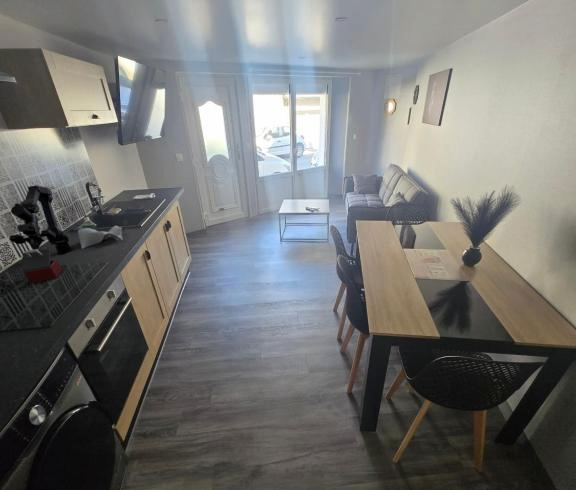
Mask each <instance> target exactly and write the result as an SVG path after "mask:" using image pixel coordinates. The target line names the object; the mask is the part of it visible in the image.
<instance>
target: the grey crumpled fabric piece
mask: <svg viewBox="0 0 576 490" xmlns="http://www.w3.org/2000/svg"><path fill="white" fill-rule="evenodd" d="M122 231H123V232H124V233H126V231H125V229H124V228H123V227H122V226H119V225H114V226H112V227H111V228H110V229H109V230H108V232H107V231H98V230H97V229H93V228H90V227H84V228H81V229H78V230H77V232H78V238H79V243H80V247H81V249H82V250H83V249H85V248H88V247H90V246H93V245H97V244H100V243H101V242H102V241H103V240H105V241H107V240H108V237H109V236H110V237H112V238H113V239H114V240H115V241H119V239H120V240H122V241H124V238H123V233H122Z"/></svg>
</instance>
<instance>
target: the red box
mask: <svg viewBox="0 0 576 490" xmlns="http://www.w3.org/2000/svg"><path fill="white" fill-rule="evenodd" d="M62 271H63V268H62V266H61V264H60V263H59V261H58V259H50V267H47V268H42V269H36V270H31V271H25V272H23V274H24V275H25V277H26V279H27V280H28V282H29V284H30V283H31V284H32V283H37V282H41V281H42V282H43V281H47V280H52V279H57V278H58V277H59V275H60V274H61V272H62Z"/></svg>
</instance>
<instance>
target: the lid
mask: <svg viewBox="0 0 576 490" xmlns="http://www.w3.org/2000/svg"><path fill="white" fill-rule="evenodd" d="M50 261H51V249H50V248H47V249H41V250H39V248H38V249H35V250H33V249H29V250H24V251H23V253H22V264H21V265H22V268H21V271H22V272H23V273H24V272H25V271H31V270H36V269H42V268H47V267H50Z"/></svg>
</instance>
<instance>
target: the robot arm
mask: <svg viewBox="0 0 576 490" xmlns="http://www.w3.org/2000/svg"><path fill="white" fill-rule="evenodd" d="M53 200H54V198H53V191H52V190H51V189H50V188H48V187H46V186H40V185H30V186H28V187H27V193H26V196H25V199H24V200H22V201H20V203H17V202H16V203H14V205H13V206H12V207H11V209H10V212H11V214H12V215H13V216H15V217H16V218H18V219H19V220H21V221H23V224H18V225H16V227H17V230H18V232H19V233H16V234H11V235H9V241H11V242H12V243H14V244H16V245H21V244H25V243H27V244H29V246H30V247H31V250H35V249H38V250H39V249H40V246H41V245H42V243H43V242H45V239H44V238H46V239H47V241H48V243H50V244H51V246H53V245H54V248H55V250H56V252H57V253H58V254H61V255H64V254H67V253H69V252H72V251H74V249H73V248H71V246H70V243H69V242H70V238H69V236H68V235H66V234H65V233H64V231H63V230H62V229H61V228H60V227H59V225H58V223H57V219H56V215H55V212H54V209H53V206H52V202H53ZM38 202H39V203H40V205H41V208H42V211H43V215H44V219H45V221H46V223H47V224H46V225H47V229H43V230H41V227H40V226H39V221H40V217H38V215H36V214H38V213H39V212H40V207H39V206H40V205H38ZM20 233H22V234H23V235H20Z"/></svg>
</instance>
